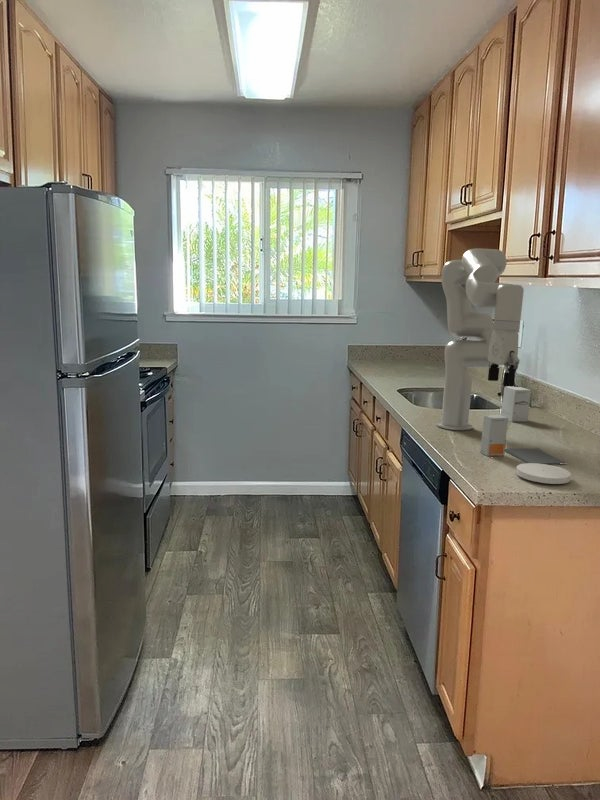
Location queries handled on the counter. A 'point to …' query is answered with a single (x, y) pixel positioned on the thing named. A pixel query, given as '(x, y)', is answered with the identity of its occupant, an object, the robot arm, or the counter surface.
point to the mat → (533, 456)
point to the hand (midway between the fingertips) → (500, 383)
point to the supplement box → (516, 403)
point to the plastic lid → (543, 473)
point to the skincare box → (493, 435)
